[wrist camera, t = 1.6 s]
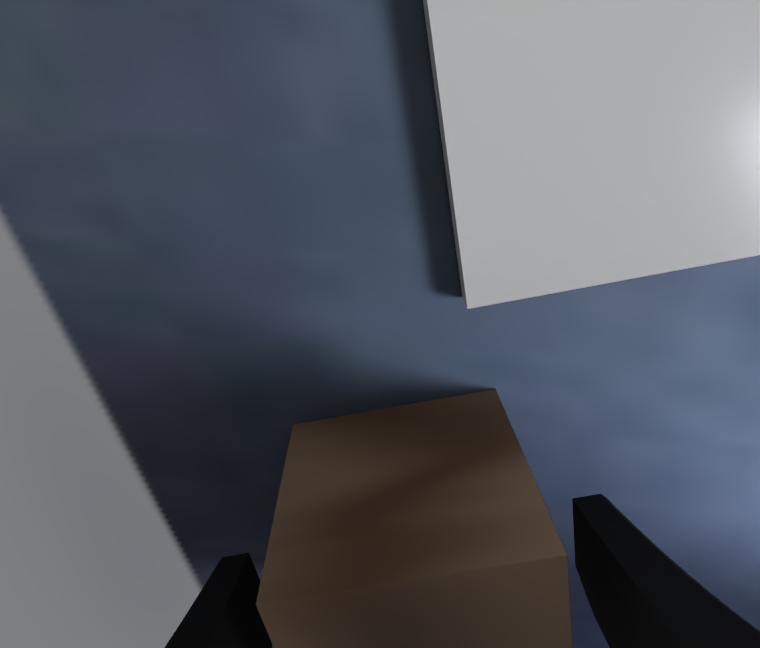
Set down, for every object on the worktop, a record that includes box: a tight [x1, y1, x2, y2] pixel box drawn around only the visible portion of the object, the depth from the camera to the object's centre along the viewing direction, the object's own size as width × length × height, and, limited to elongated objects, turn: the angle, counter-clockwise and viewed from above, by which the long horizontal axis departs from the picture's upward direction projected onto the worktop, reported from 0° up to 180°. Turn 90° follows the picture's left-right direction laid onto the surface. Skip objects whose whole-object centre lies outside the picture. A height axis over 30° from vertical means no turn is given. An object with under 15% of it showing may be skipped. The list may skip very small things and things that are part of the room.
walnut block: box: [256, 389, 573, 648], centre depth 12 cm, size 5×5×5 cm
